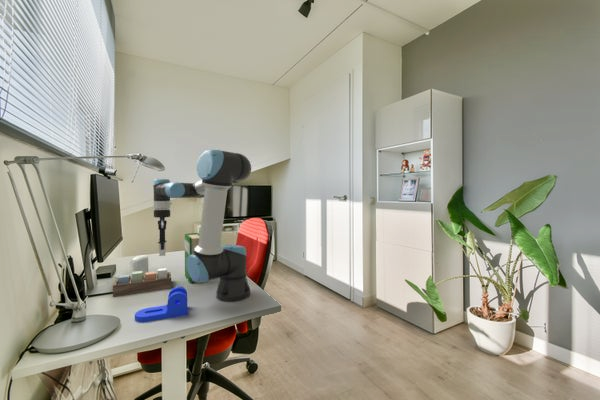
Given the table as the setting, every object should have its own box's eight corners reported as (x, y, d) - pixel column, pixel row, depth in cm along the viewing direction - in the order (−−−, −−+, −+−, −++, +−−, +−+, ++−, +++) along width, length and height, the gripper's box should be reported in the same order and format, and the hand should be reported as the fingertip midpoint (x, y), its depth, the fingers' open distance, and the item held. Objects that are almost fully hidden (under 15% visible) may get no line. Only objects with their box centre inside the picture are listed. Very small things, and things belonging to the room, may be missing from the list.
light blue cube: (128, 285, 127) (128, 276, 127) (118, 286, 125) (118, 277, 125) (129, 282, 131) (129, 274, 131) (119, 283, 129) (119, 275, 129)
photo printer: (136, 280, 144) (136, 258, 144) (129, 280, 144) (129, 257, 144) (149, 275, 154) (149, 253, 154) (143, 274, 155) (142, 253, 154)
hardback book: (204, 281, 143) (204, 236, 143) (189, 283, 139) (189, 237, 139) (198, 273, 158) (198, 232, 158) (184, 275, 154) (184, 233, 154)
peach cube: (155, 281, 132) (155, 273, 132) (145, 282, 130) (145, 274, 130) (155, 279, 136) (155, 271, 136) (145, 280, 134) (145, 272, 134)
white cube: (167, 277, 135) (167, 269, 135) (158, 279, 133) (157, 271, 133) (167, 275, 139) (167, 267, 139) (158, 276, 137) (158, 269, 137)
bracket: (187, 307, 110) (187, 285, 110) (187, 315, 103) (187, 292, 103) (136, 314, 103) (136, 291, 103) (133, 324, 95) (132, 299, 95)
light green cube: (142, 281, 130) (142, 272, 130) (132, 282, 128) (132, 274, 128) (142, 278, 134) (142, 270, 134) (132, 279, 132) (132, 271, 132)
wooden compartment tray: (171, 288, 132) (171, 278, 132) (112, 296, 121) (112, 285, 121) (170, 281, 143) (170, 271, 143) (116, 288, 132) (116, 278, 132)
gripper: (170, 209, 131) (171, 257, 132) (169, 208, 143) (170, 252, 143) (153, 210, 128) (153, 259, 128) (153, 208, 139) (154, 253, 140)
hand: (162, 255), depth 136 cm, fingers closed
